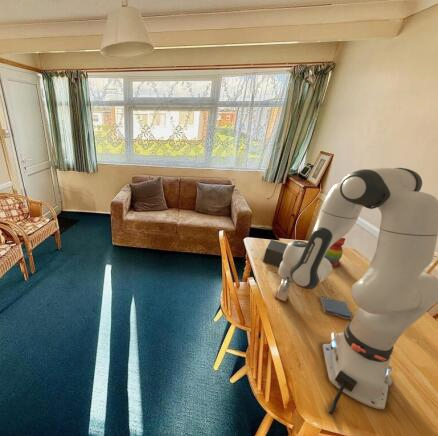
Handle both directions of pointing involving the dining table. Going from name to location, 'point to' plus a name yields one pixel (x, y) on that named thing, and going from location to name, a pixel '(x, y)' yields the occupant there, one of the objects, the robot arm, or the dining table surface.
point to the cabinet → (274, 253)
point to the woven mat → (335, 307)
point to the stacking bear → (335, 252)
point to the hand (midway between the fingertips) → (282, 294)
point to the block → (280, 299)
